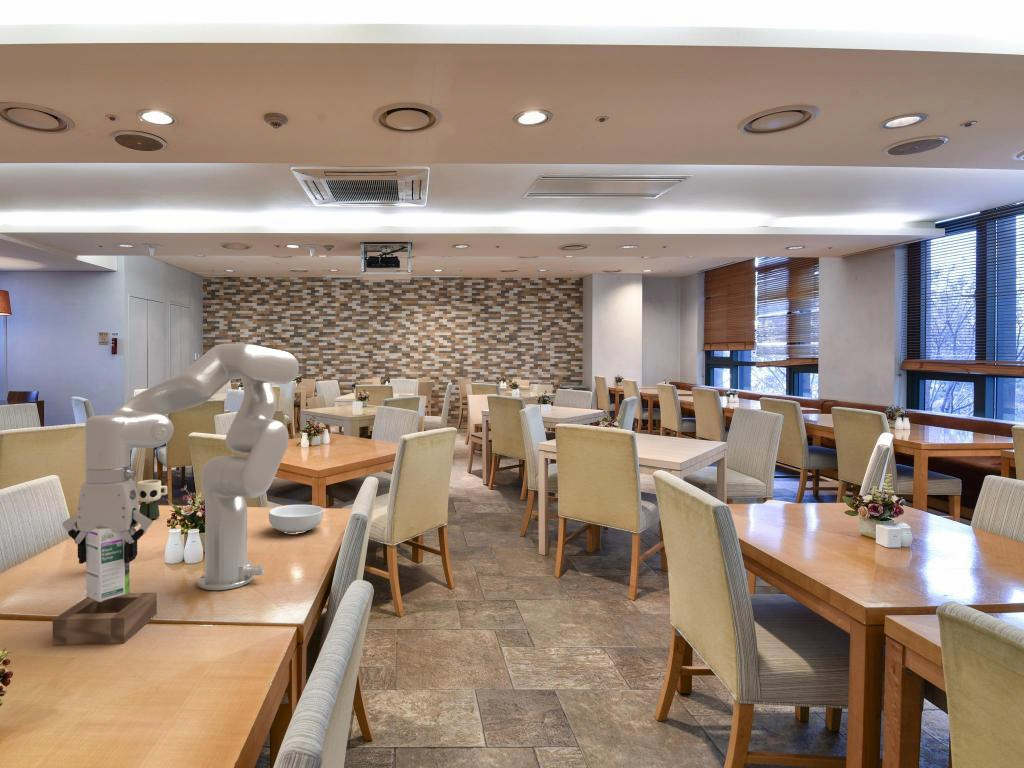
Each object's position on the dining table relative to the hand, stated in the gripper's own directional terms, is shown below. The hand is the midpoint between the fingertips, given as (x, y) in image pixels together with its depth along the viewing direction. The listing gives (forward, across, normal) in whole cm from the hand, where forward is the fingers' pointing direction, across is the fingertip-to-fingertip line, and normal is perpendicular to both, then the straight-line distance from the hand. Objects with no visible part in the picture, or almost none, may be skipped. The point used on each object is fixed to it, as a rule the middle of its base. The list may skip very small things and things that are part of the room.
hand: (107, 560), depth 121 cm
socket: (+14, 0, 0) cm, 14 cm away
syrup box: (+7, 0, 0) cm, 7 cm away
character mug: (+14, +33, -87) cm, 94 cm away
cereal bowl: (+14, -20, -71) cm, 75 cm away
